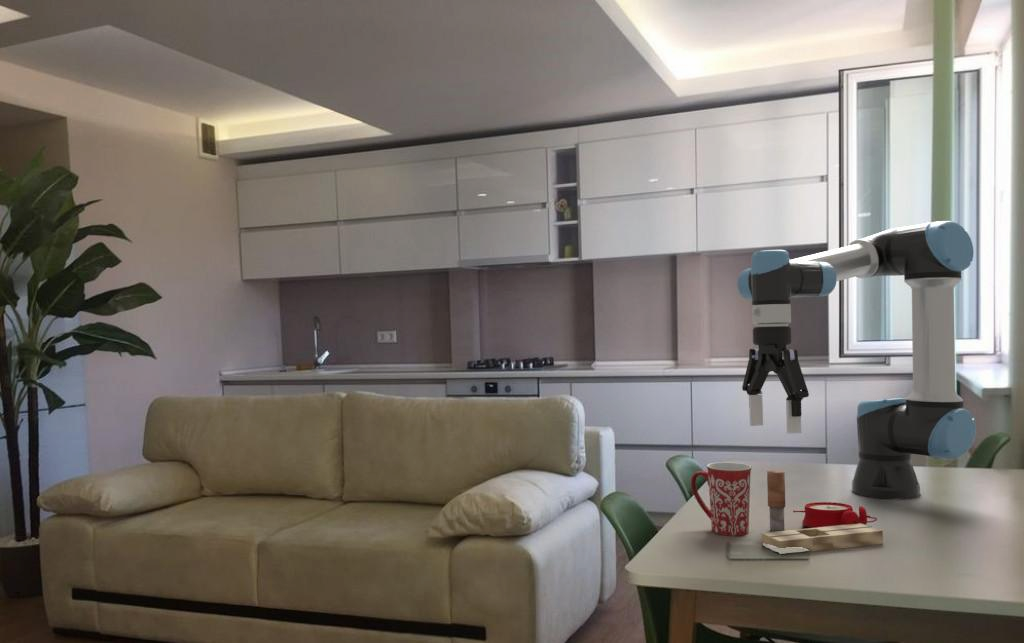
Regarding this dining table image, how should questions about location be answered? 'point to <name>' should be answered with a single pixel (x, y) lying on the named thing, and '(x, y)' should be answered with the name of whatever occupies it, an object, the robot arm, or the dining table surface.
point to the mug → (726, 497)
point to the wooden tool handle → (776, 499)
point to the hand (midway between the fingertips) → (774, 429)
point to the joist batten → (826, 537)
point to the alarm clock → (832, 515)
